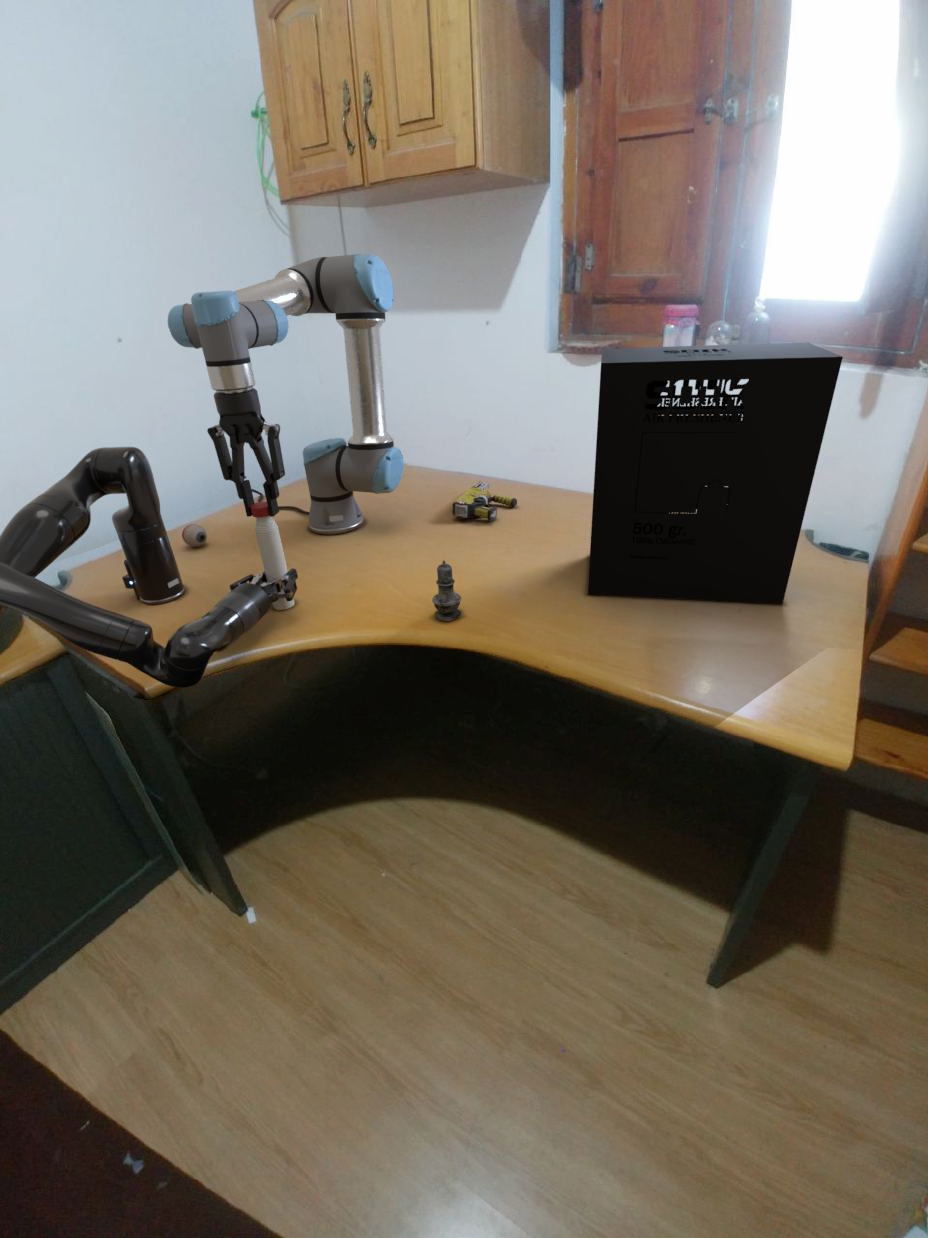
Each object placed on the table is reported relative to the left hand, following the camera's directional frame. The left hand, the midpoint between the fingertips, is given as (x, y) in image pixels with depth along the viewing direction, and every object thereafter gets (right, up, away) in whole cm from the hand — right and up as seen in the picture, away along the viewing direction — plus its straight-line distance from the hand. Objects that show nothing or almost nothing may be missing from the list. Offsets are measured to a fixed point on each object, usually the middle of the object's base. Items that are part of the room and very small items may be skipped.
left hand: (284, 571), depth 128 cm
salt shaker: (+35, -9, -6) cm, 37 cm away
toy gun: (+46, +22, +46) cm, 69 cm away
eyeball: (-33, +9, +33) cm, 47 cm away
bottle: (0, -7, +1) cm, 7 cm away
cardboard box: (+85, -1, +3) cm, 85 cm away
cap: (-1, +12, -10) cm, 16 cm away
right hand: (-1, +11, -9) cm, 14 cm away
